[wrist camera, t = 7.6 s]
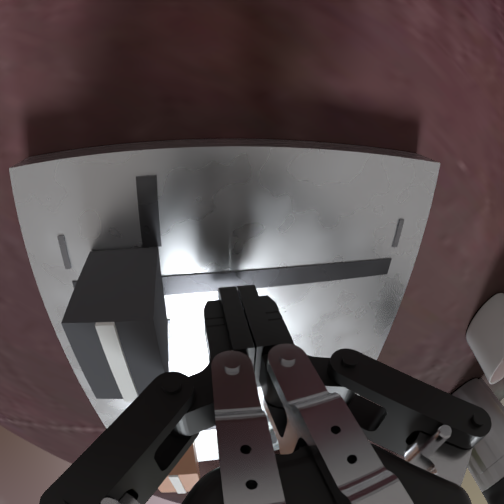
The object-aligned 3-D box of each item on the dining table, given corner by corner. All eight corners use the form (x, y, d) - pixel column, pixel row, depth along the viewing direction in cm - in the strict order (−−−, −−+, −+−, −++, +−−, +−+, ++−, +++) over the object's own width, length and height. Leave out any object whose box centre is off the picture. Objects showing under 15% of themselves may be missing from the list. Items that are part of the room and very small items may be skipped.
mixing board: (416, 153, 15) (441, 163, 13) (330, 419, 28) (337, 435, 26) (28, 157, 11) (8, 168, 9) (130, 446, 24) (130, 464, 22)
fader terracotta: (189, 416, 19) (197, 475, 15) (194, 440, 21) (202, 491, 17) (146, 418, 18) (149, 477, 14) (157, 442, 20) (161, 494, 16)
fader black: (158, 246, 12) (153, 323, 8) (167, 320, 14) (170, 400, 10) (90, 251, 12) (60, 326, 8) (108, 323, 14) (96, 401, 10)
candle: (447, 357, 28) (477, 395, 23) (476, 293, 24) (517, 333, 18) (491, 334, 30) (519, 365, 25) (518, 276, 25) (553, 307, 20)
